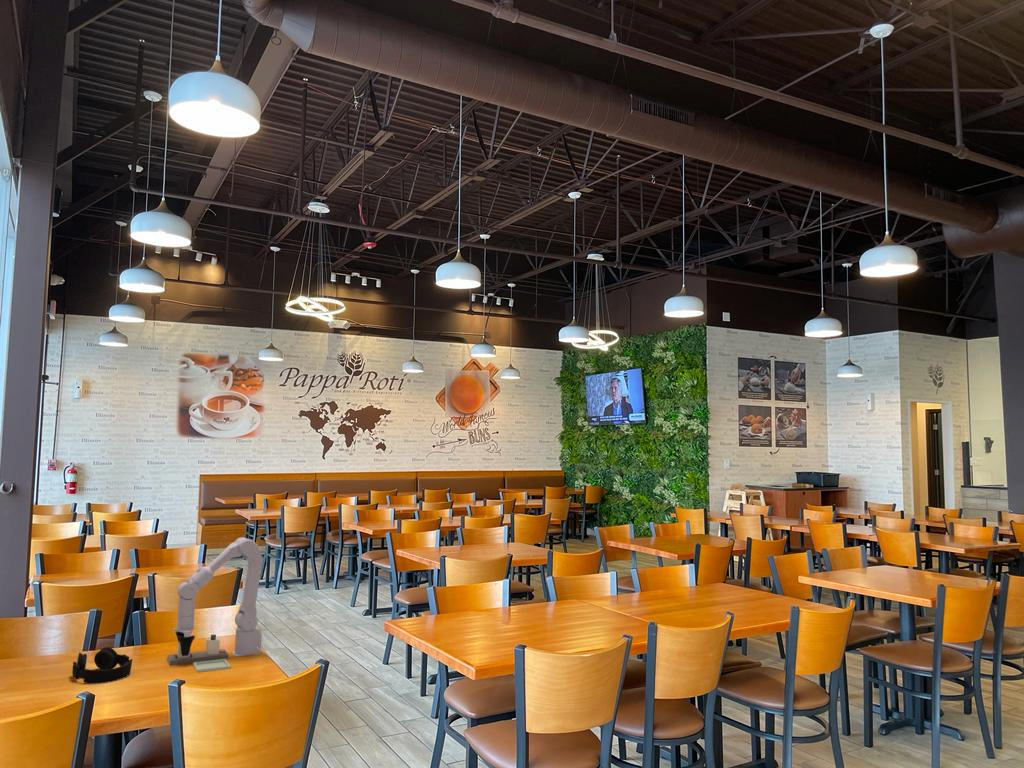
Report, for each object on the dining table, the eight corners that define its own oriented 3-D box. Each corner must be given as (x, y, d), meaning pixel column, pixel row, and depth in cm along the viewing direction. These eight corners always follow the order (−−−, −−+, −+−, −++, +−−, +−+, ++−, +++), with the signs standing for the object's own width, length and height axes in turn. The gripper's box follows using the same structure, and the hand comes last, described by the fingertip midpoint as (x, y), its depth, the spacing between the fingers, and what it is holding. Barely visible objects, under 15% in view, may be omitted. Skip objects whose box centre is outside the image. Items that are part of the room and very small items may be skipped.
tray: (225, 662, 274) (225, 658, 274) (230, 669, 265) (230, 666, 265) (193, 665, 269) (193, 662, 269) (197, 673, 259) (197, 669, 260)
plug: (188, 660, 277) (189, 636, 278) (189, 662, 273) (190, 638, 274) (176, 661, 275) (178, 637, 276) (177, 663, 271) (179, 639, 272)
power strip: (224, 654, 285) (225, 631, 286) (228, 659, 278) (229, 636, 279) (167, 660, 276) (168, 636, 276) (169, 666, 268) (171, 641, 269)
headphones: (112, 642, 269) (143, 656, 258) (109, 664, 269) (141, 679, 258) (61, 652, 254) (92, 668, 243) (58, 676, 254) (89, 693, 243)
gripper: (172, 612, 280) (170, 650, 279) (176, 620, 268) (174, 659, 266) (192, 611, 284) (190, 647, 282) (197, 618, 271) (195, 656, 270)
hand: (183, 653), depth 274 cm, fingers open, 7 cm apart
